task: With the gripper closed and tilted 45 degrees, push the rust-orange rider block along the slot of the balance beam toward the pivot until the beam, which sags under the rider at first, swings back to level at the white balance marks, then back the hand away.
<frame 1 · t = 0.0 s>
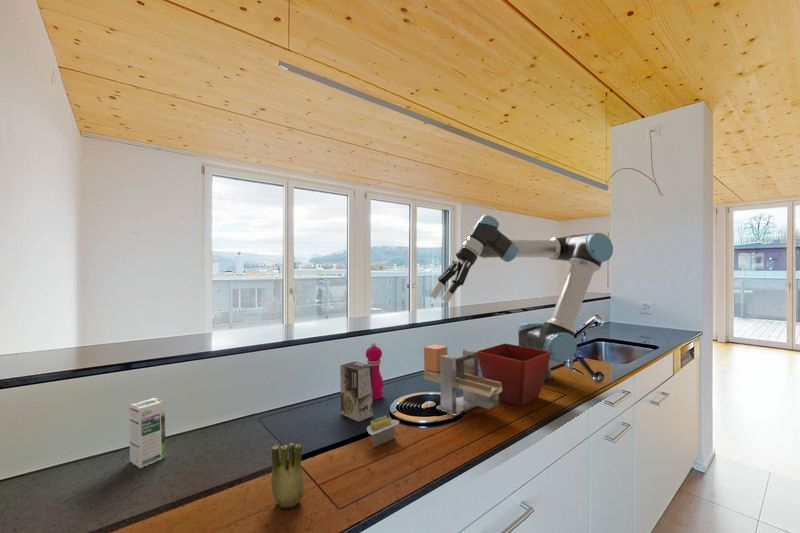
hand: (438, 298, 132), 36 cm above the countertop, tool tilted 35°, fingers open, 13 cm apart
platform: (381, 443, 98), on the countertop
rider: (436, 373, 130), point 9 cm above the countertop, touching beam
pivot stand: (459, 406, 122), on the countertop
syrup box: (147, 461, 89), on the countertop
fennel bulb: (288, 504, 73), on the countertop
plant pot: (513, 398, 130), on the countertop
beam: (460, 376, 122), point 10 cm above the countertop, hinge at 1.5°, touching rider
coffee box: (356, 415, 116), on the countertop
pepper mill: (374, 397, 132), on the countertop
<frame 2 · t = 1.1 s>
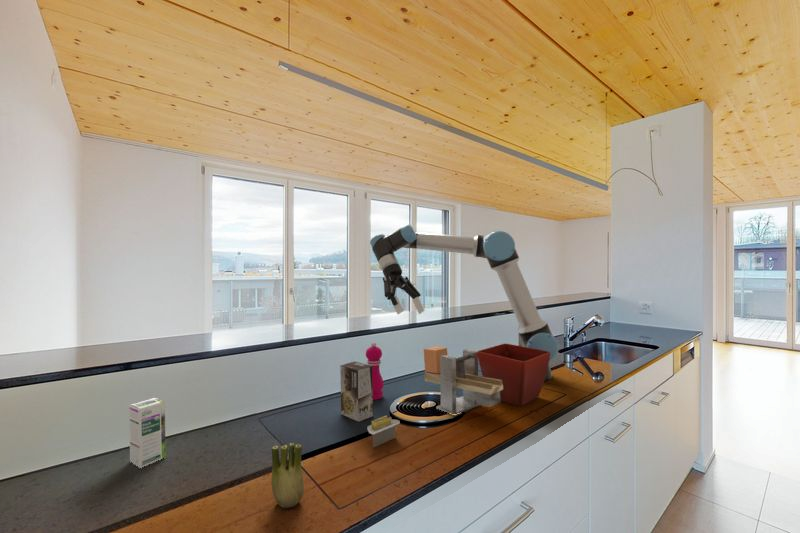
hand: (411, 312, 139), 30 cm above the countertop, tool tilted 35°, fingers open, 13 cm apart
beam: (460, 377, 122), point 10 cm above the countertop, hinge at 4.8°, touching rider
everything else where it was.
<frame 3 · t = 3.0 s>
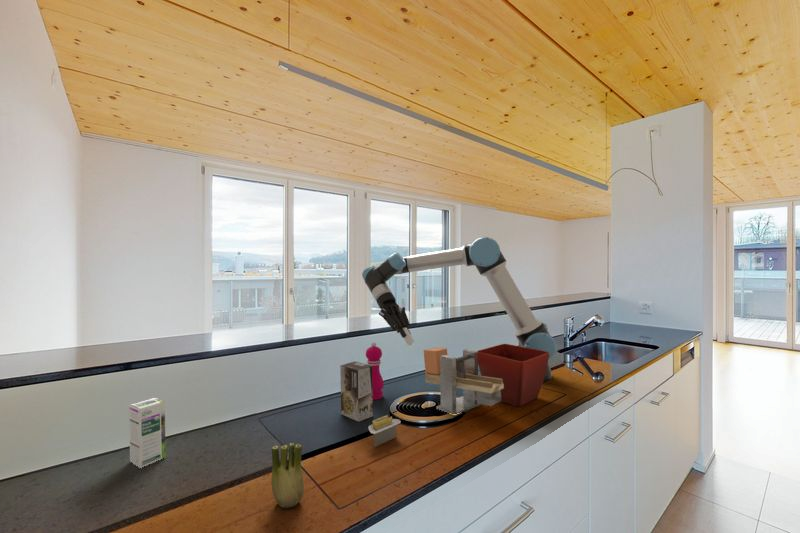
hand: (411, 343, 139), 18 cm above the countertop, tool tilted 45°, fingers closed
beam: (461, 377, 122), point 10 cm above the countertop, hinge at 6.5°, touching rider
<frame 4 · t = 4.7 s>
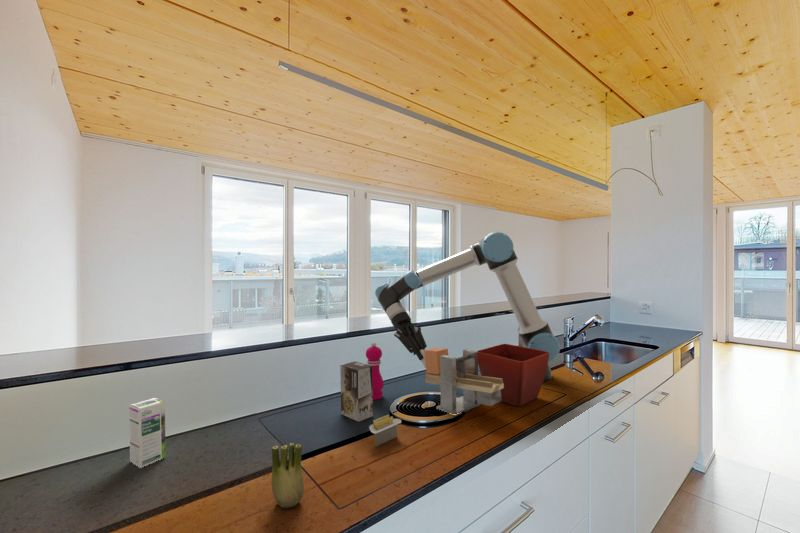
hand: (428, 366, 133), 11 cm above the countertop, tool tilted 45°, fingers closed
rider: (438, 377, 129), point 8 cm above the countertop, tilted 7°, touching beam, gripper
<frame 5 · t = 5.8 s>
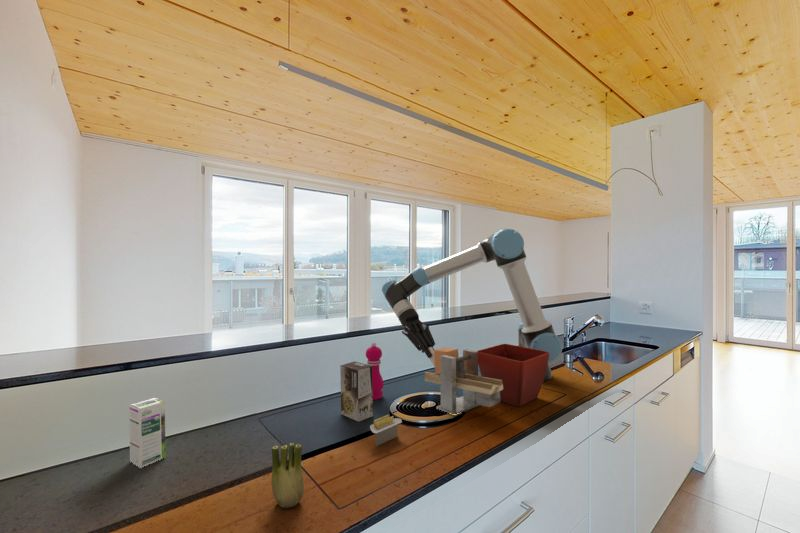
hand: (437, 364, 130), 12 cm above the countertop, tool tilted 45°, fingers closed
rider: (447, 377, 126), point 9 cm above the countertop, touching beam, gripper
beam: (460, 377, 122), point 10 cm above the countertop, hinge at 4.8°, touching rider
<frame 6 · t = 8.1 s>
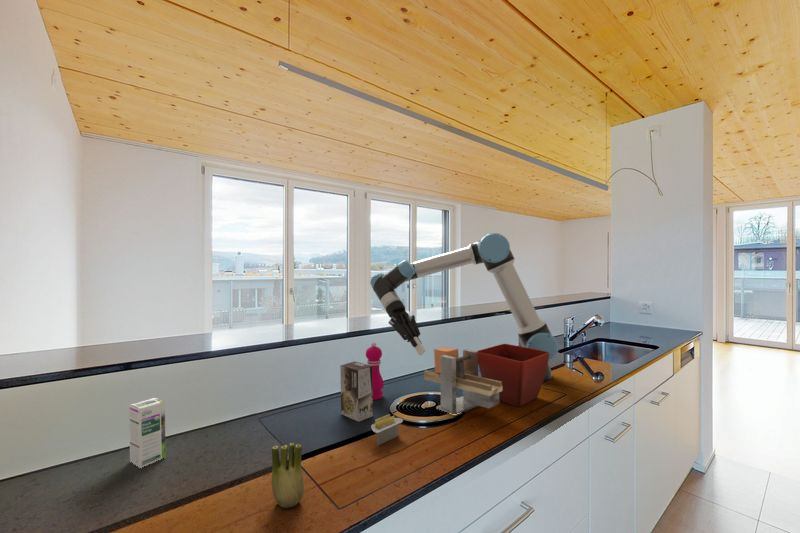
hand: (422, 352, 136), 15 cm above the countertop, tool tilted 45°, fingers closed
rider: (447, 377, 126), point 9 cm above the countertop, touching beam
beam: (460, 376, 122), point 10 cm above the countertop, hinge at 2.7°, touching rider
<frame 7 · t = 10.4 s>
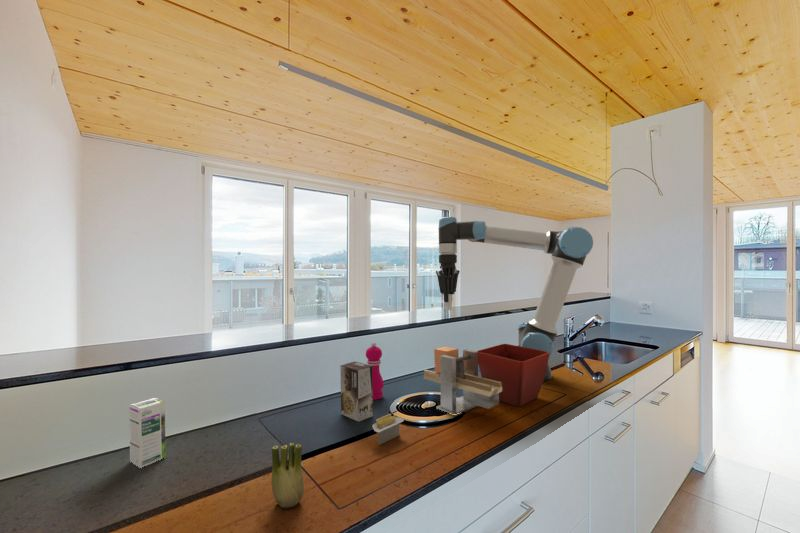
hand: (448, 309, 152), 29 cm above the countertop, tool pointing down, fingers closed
beam: (460, 376, 122), point 10 cm above the countertop, hinge at 1.9°, touching rider
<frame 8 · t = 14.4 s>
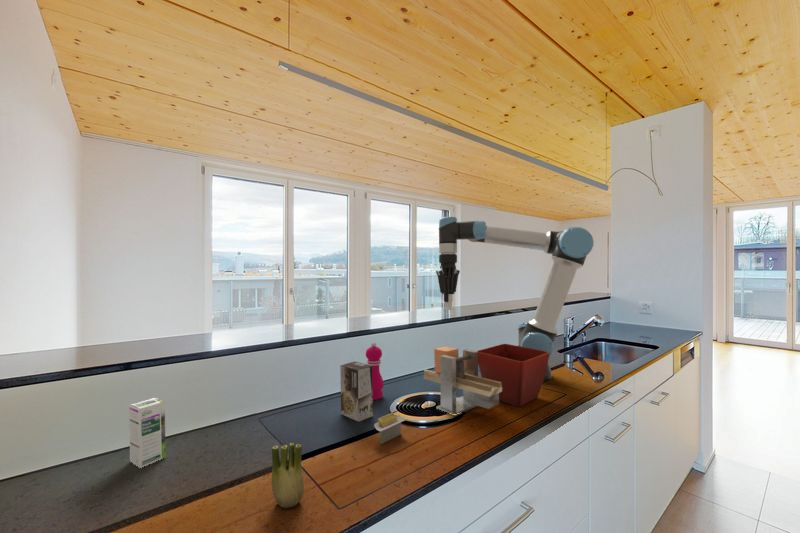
hand: (448, 309, 152), 29 cm above the countertop, tool pointing down, fingers closed
at the end: beam at +2° (first picture: +1°); rider 1.3 cm from the target spot under the beam, point -7.2 cm above the beam's base; rider tilted 2° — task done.
